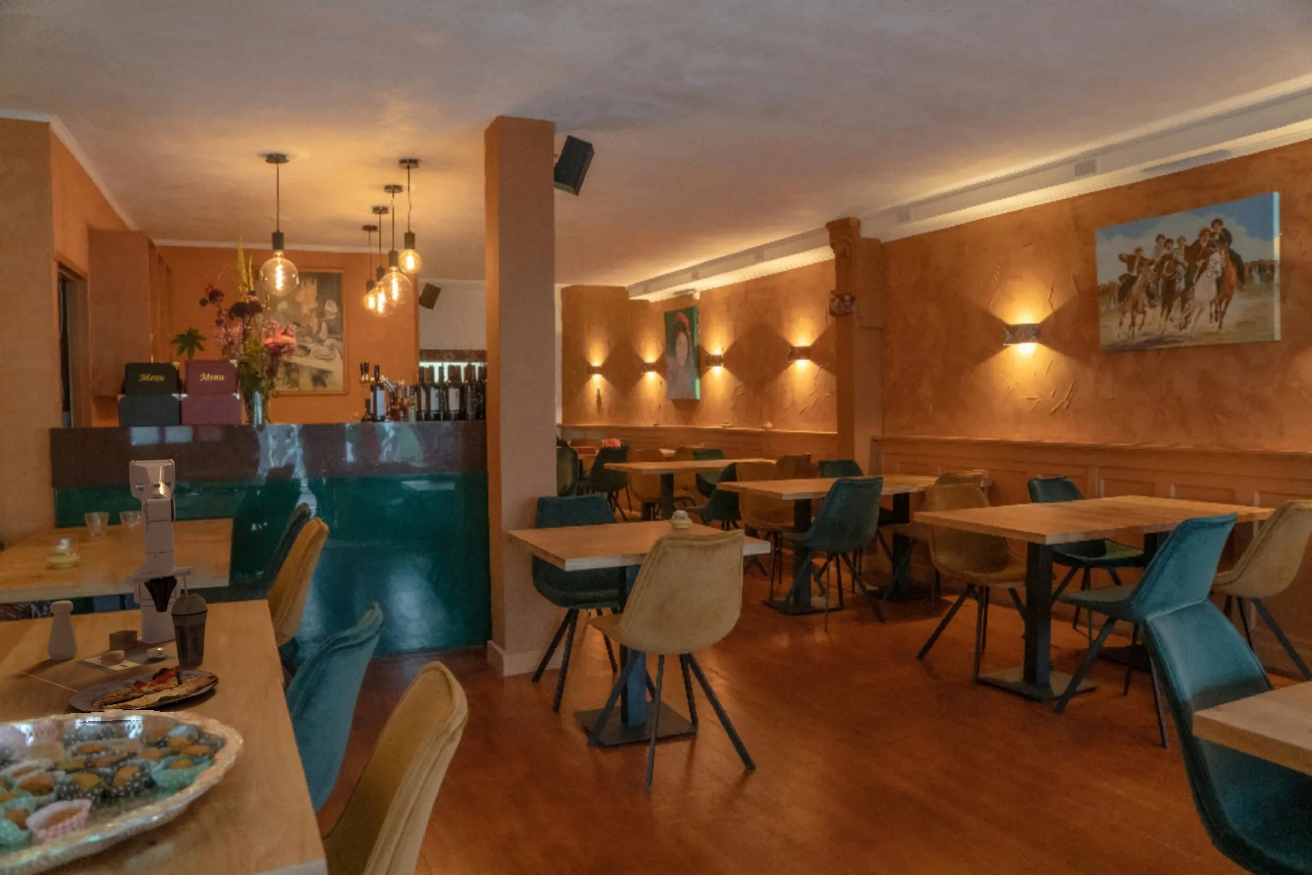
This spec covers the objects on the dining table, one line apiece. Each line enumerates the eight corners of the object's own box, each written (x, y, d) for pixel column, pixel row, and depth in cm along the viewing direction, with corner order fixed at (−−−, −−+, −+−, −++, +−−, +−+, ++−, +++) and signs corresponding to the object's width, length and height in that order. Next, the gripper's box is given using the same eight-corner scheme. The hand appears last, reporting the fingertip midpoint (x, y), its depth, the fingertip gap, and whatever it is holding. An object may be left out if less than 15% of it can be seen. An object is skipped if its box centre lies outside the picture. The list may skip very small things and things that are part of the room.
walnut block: (123, 646, 216) (123, 629, 216) (137, 647, 215) (137, 630, 215) (109, 650, 212) (109, 633, 212) (123, 651, 211) (123, 634, 211)
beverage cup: (217, 661, 201) (214, 570, 200) (190, 670, 194) (187, 576, 193) (191, 659, 203) (188, 569, 203) (164, 668, 196) (161, 575, 196)
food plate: (187, 672, 192) (186, 655, 192) (241, 693, 178) (240, 675, 178) (51, 705, 173) (50, 687, 173) (99, 733, 158) (98, 713, 158)
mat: (141, 649, 213) (141, 647, 213) (176, 658, 204) (176, 656, 204) (75, 663, 202) (75, 661, 202) (109, 673, 192) (109, 671, 192)
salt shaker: (63, 663, 202) (61, 604, 201) (41, 662, 203) (39, 603, 203) (84, 656, 207) (82, 599, 207) (63, 655, 209) (61, 598, 208)
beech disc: (118, 658, 204) (117, 649, 203) (128, 660, 201) (127, 651, 201) (96, 662, 200) (96, 653, 200) (107, 665, 197) (106, 656, 197)
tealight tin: (150, 657, 204) (150, 647, 204) (169, 656, 205) (169, 646, 205) (144, 661, 201) (144, 651, 201) (164, 660, 201) (164, 650, 201)
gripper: (135, 557, 199) (136, 619, 199) (200, 548, 210) (202, 607, 211) (119, 554, 203) (121, 615, 203) (184, 546, 214) (186, 604, 215)
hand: (161, 611), depth 207 cm, fingers closed
